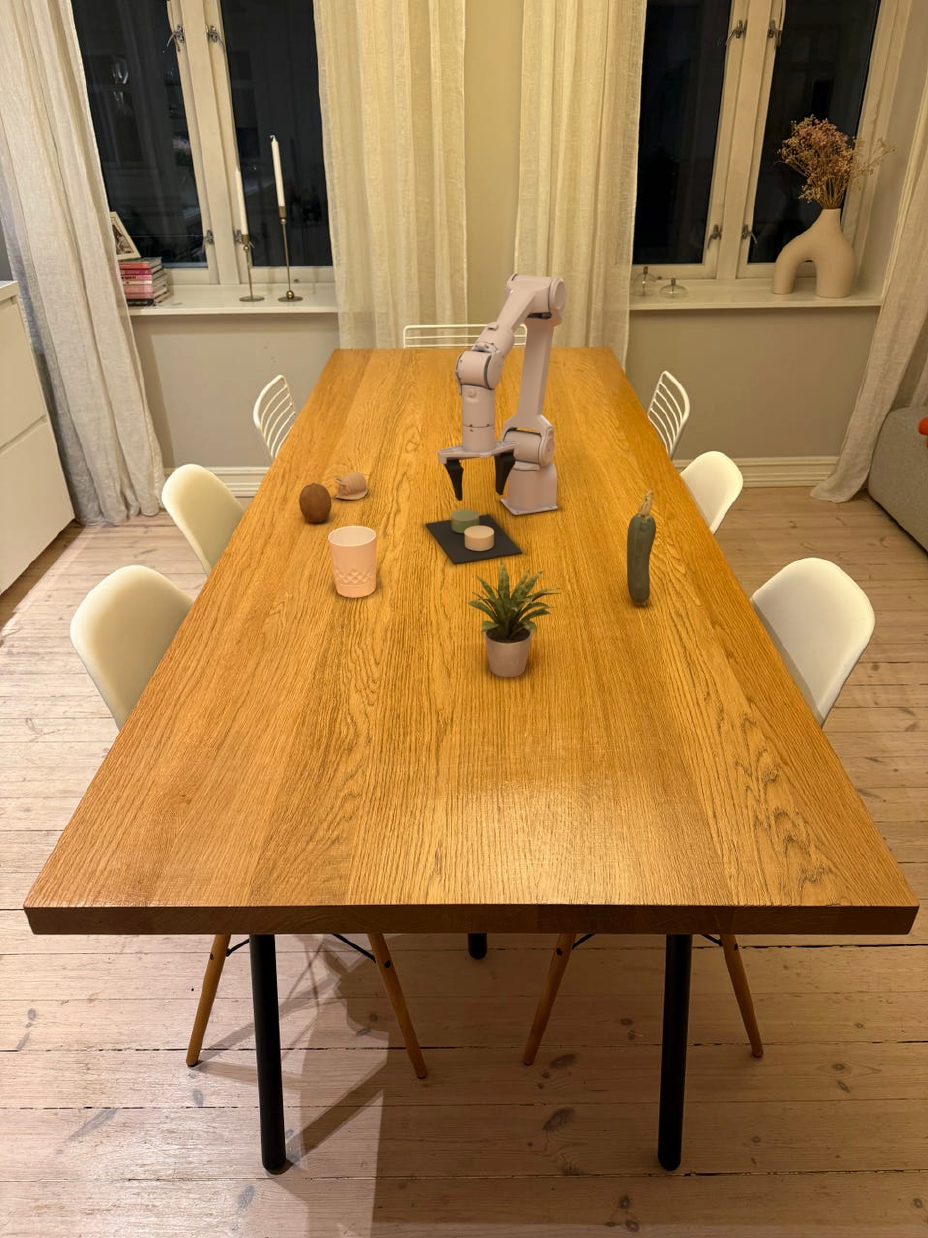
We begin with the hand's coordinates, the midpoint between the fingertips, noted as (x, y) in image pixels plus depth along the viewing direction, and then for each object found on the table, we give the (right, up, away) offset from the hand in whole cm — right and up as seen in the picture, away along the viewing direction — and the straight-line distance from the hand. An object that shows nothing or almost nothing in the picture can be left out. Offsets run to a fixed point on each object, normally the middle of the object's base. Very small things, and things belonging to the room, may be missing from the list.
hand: (479, 495), depth 171 cm
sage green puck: (-2, -5, +11) cm, 13 cm away
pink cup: (-21, -17, -8) cm, 28 cm away
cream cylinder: (0, -9, +5) cm, 10 cm away
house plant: (+4, -30, -31) cm, 43 cm away
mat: (-1, -7, +8) cm, 11 cm away
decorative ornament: (-26, +3, +27) cm, 38 cm away
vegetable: (+25, -20, -14) cm, 35 cm away
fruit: (-31, -3, +16) cm, 36 cm away
